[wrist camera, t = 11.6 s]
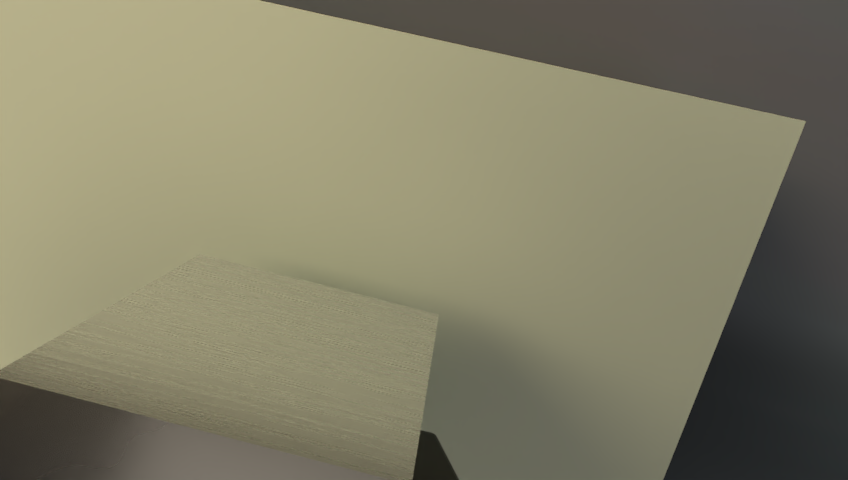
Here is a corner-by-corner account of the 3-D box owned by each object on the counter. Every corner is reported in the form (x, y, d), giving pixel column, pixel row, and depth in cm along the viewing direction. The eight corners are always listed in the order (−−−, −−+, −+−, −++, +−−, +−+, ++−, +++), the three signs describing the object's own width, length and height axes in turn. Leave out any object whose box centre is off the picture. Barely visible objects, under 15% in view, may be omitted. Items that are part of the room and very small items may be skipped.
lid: (558, 694, 13) (563, 730, 13) (11, 552, 14) (-16, 580, 13) (779, 119, 10) (805, 121, 9) (18, -50, 10) (-20, -62, 9)
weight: (386, 514, 10) (331, 783, 6) (173, 459, 10) (-15, 687, 6) (438, 314, 9) (411, 485, 5) (198, 254, 9) (-11, 375, 5)
